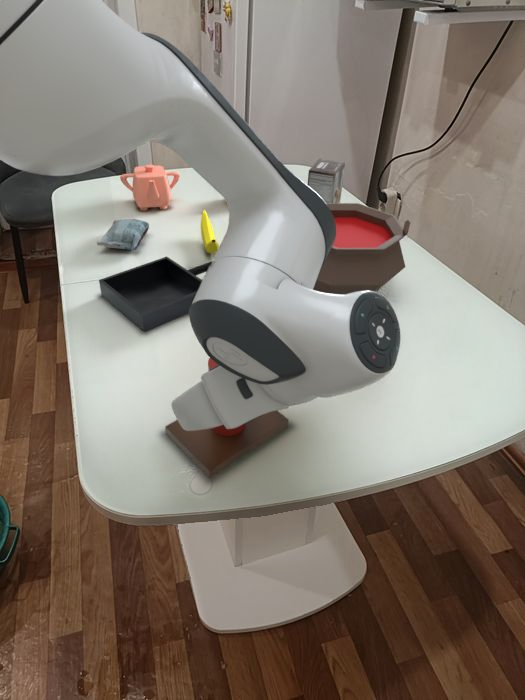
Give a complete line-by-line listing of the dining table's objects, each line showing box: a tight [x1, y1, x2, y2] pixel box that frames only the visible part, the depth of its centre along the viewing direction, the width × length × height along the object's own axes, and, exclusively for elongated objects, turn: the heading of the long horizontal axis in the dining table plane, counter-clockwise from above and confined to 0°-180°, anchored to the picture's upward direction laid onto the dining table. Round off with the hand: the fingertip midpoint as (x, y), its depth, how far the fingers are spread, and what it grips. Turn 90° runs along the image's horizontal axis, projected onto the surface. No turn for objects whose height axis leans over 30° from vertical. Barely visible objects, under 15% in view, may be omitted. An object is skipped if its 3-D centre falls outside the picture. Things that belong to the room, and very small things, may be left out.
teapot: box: [119, 163, 181, 211], centre depth 130 cm, size 14×12×10 cm
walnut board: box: [164, 410, 289, 479], centre depth 72 cm, size 14×10×2 cm
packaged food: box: [96, 218, 150, 251], centre depth 114 cm, size 9×12×5 cm
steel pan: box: [98, 256, 213, 333], centre depth 99 cm, size 24×15×4 cm, turn 132°
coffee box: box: [307, 158, 346, 203], centre depth 119 cm, size 9×6×16 cm
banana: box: [200, 209, 220, 255], centre depth 114 cm, size 3×19×6 cm, turn 11°
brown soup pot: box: [313, 202, 411, 294], centre depth 99 cm, size 24×24×16 cm
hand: (224, 386), depth 67 cm, fingers closed on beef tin, 5 cm apart
